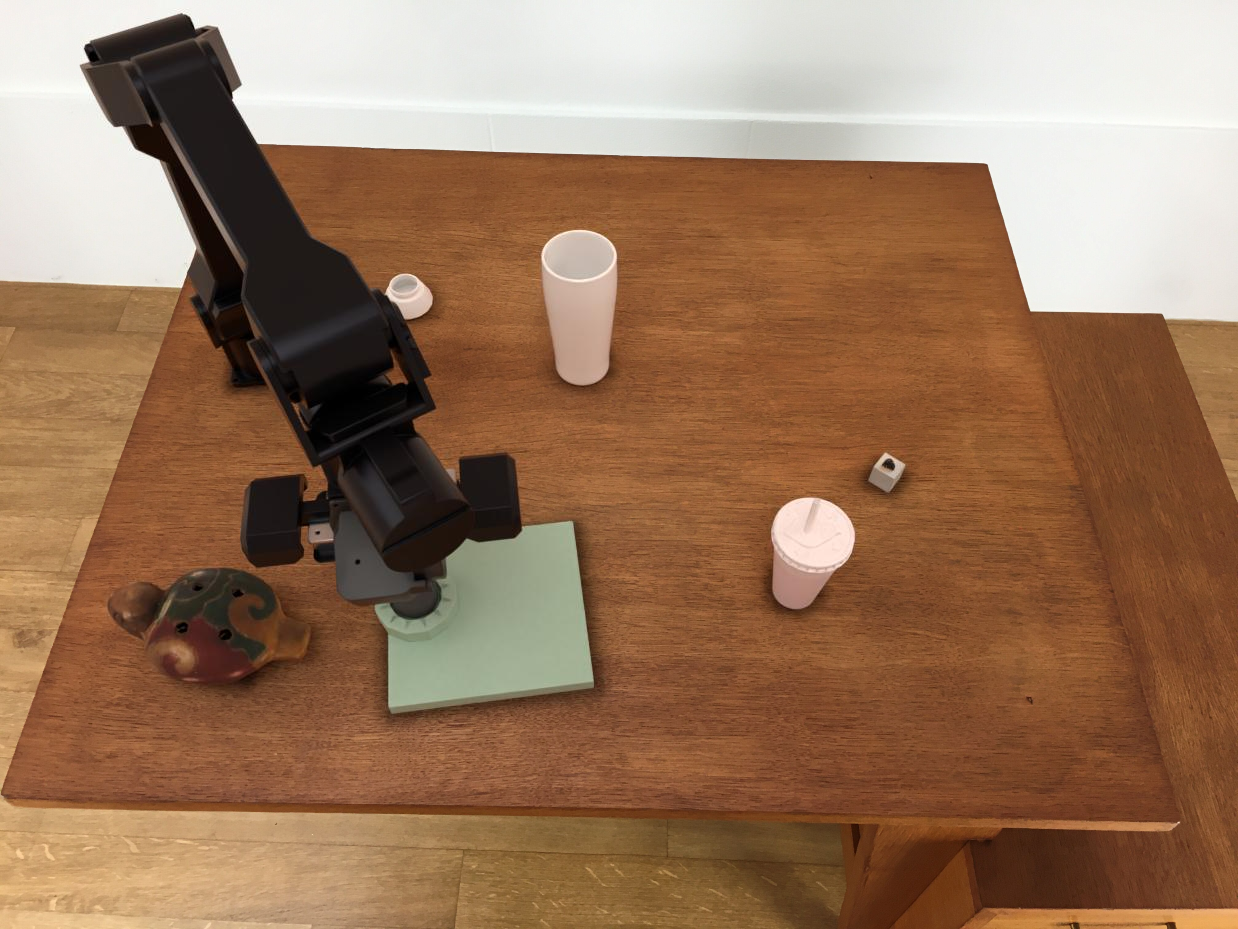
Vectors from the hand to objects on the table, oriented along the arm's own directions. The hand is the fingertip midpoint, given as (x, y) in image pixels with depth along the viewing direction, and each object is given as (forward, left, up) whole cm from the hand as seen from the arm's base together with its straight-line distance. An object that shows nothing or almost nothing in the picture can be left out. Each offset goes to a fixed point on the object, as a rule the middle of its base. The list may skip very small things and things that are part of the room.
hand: (405, 566), depth 74 cm
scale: (+5, -1, -8) cm, 10 cm away
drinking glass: (+16, +25, -8) cm, 31 cm away
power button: (0, 0, -5) cm, 5 cm away
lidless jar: (-1, +36, -8) cm, 37 cm away
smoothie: (+31, -2, -8) cm, 33 cm away
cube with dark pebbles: (+42, +8, -8) cm, 44 cm away
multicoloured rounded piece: (-16, -1, -8) cm, 18 cm away
